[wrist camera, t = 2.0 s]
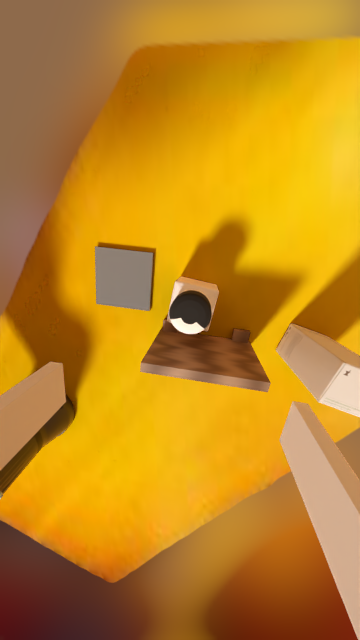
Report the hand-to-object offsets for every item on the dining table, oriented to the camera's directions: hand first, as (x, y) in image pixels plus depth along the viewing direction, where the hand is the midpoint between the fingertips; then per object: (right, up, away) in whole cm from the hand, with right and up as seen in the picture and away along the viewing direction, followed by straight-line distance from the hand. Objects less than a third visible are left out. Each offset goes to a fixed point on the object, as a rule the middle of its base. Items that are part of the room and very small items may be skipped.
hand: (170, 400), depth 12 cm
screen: (+5, +1, +30) cm, 31 cm away
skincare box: (+24, 0, +28) cm, 37 cm away
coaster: (-10, +13, +28) cm, 33 cm away
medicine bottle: (+3, +9, +28) cm, 30 cm away
